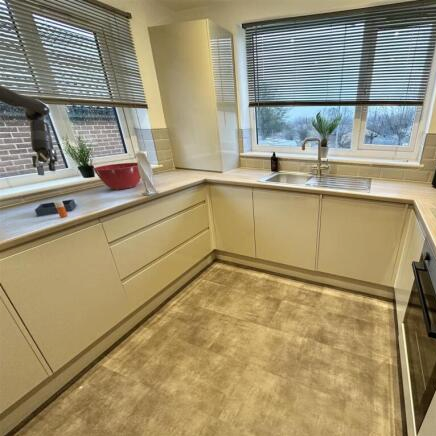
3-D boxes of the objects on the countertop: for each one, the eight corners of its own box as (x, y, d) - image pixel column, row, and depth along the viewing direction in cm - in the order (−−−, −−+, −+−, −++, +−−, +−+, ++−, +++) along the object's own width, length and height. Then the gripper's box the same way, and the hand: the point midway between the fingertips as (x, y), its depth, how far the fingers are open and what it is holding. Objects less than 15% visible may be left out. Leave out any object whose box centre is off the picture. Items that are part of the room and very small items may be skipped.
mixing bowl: (90, 191, 162) (81, 168, 157) (127, 181, 188) (121, 161, 182) (121, 194, 154) (113, 170, 149) (156, 183, 180) (151, 162, 174)
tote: (38, 218, 117) (34, 209, 116) (44, 211, 126) (40, 203, 124) (72, 212, 124) (69, 204, 122) (76, 206, 132) (73, 199, 131)
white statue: (141, 194, 152) (128, 149, 142) (153, 191, 159) (142, 147, 148) (147, 196, 148) (135, 149, 137) (160, 193, 154) (149, 148, 144)
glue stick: (59, 219, 115) (52, 202, 111) (63, 217, 117) (56, 200, 114) (65, 219, 115) (59, 202, 112) (70, 216, 118) (63, 200, 114)
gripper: (23, 143, 118) (27, 175, 118) (41, 135, 114) (46, 168, 114) (42, 147, 125) (47, 177, 125) (60, 140, 121) (65, 170, 121)
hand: (46, 173), depth 119 cm, fingers open, 8 cm apart
